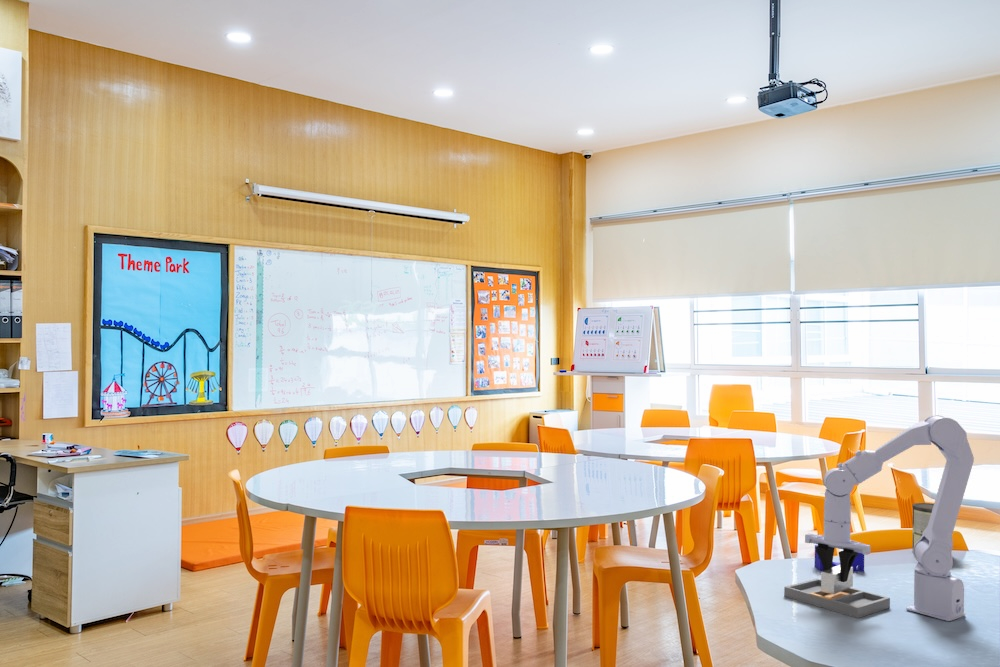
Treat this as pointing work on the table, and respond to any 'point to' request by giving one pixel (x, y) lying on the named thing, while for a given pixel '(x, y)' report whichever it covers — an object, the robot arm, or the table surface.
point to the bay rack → (838, 599)
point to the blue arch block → (857, 562)
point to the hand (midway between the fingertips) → (836, 579)
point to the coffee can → (920, 519)
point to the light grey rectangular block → (835, 580)
